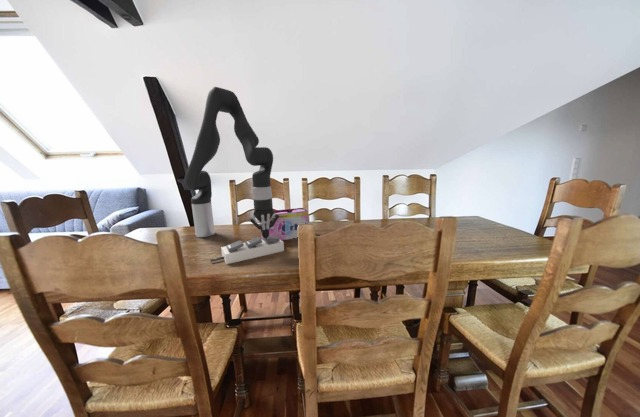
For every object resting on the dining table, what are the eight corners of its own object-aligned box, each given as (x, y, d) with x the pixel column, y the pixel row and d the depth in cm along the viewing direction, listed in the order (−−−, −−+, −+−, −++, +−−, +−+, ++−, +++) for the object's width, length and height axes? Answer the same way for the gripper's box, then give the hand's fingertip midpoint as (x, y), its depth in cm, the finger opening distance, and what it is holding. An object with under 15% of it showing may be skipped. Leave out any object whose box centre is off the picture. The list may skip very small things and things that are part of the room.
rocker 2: (245, 244, 106) (244, 241, 105) (258, 239, 108) (258, 236, 108) (248, 248, 102) (247, 245, 101) (262, 242, 104) (261, 239, 104)
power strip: (209, 259, 103) (207, 247, 102) (276, 244, 117) (275, 234, 116) (212, 267, 95) (211, 255, 94) (284, 250, 110) (283, 240, 109)
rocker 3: (262, 238, 109) (262, 236, 109) (275, 238, 112) (275, 235, 112) (266, 242, 105) (266, 239, 105) (279, 241, 108) (279, 238, 108)
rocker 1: (226, 248, 102) (225, 245, 101) (241, 242, 105) (240, 239, 104) (229, 252, 98) (228, 249, 98) (244, 246, 101) (243, 243, 100)
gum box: (260, 243, 119) (258, 215, 116) (258, 238, 126) (256, 212, 123) (308, 236, 127) (308, 210, 124) (304, 232, 135) (303, 207, 131)
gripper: (274, 194, 110) (276, 232, 114) (244, 197, 103) (247, 238, 107) (281, 196, 103) (283, 237, 107) (249, 200, 97) (252, 243, 101)
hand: (265, 237), depth 107 cm, fingers closed
